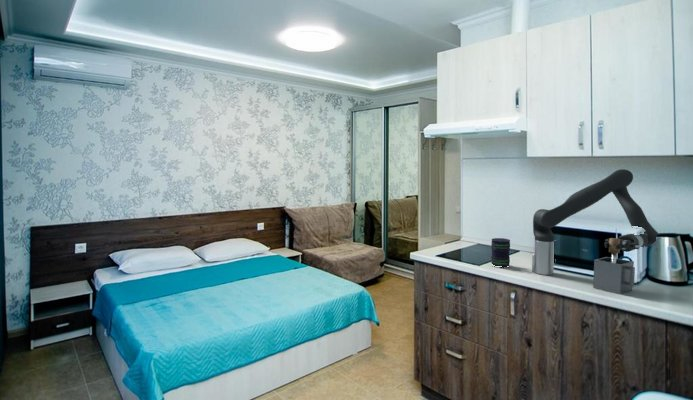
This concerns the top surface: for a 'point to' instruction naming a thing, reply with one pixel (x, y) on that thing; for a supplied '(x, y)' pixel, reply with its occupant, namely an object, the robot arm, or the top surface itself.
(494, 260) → the storage jar
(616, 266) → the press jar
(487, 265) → the top surface
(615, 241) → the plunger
